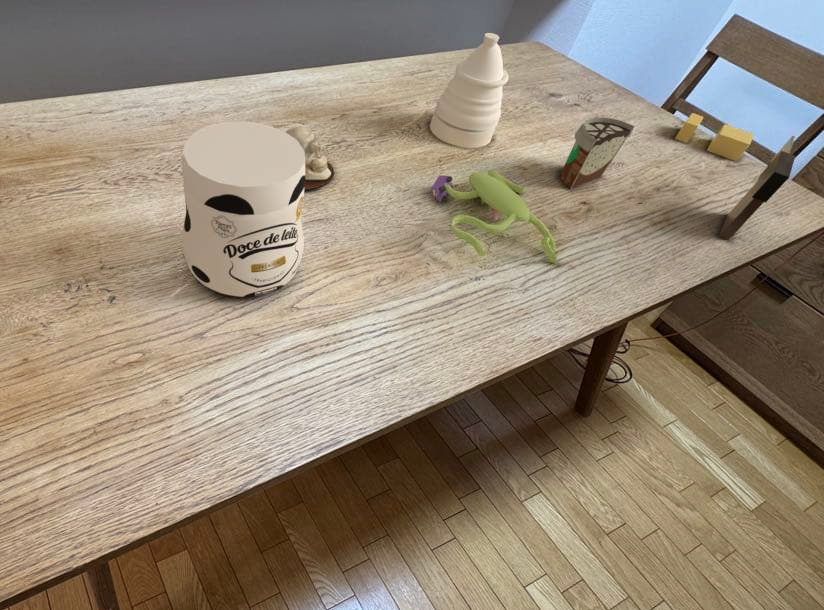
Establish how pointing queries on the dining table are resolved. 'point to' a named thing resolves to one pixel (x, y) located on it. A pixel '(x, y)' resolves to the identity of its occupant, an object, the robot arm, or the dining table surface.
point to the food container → (594, 149)
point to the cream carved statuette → (312, 158)
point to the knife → (775, 173)
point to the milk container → (243, 207)
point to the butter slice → (689, 127)
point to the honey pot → (472, 98)
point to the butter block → (730, 142)
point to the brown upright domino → (740, 214)
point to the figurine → (493, 207)
